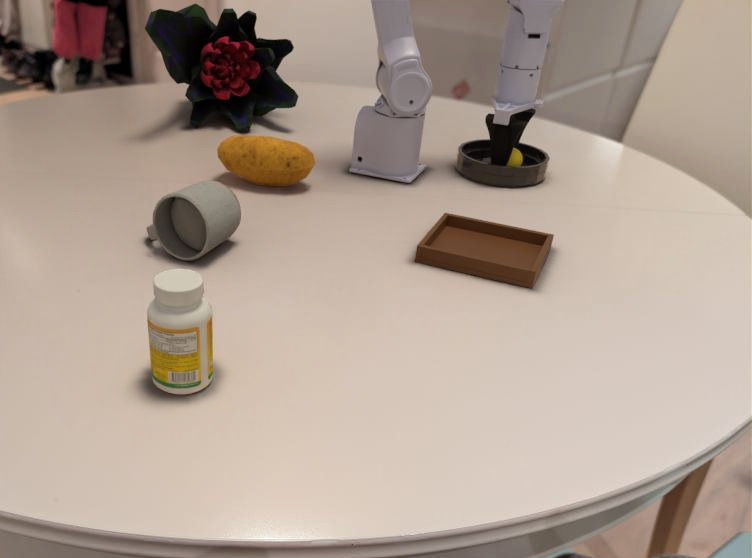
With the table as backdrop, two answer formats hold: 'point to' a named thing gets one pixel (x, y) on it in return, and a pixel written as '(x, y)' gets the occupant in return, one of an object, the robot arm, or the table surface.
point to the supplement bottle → (180, 332)
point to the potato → (266, 159)
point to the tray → (485, 249)
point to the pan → (499, 175)
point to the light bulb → (514, 159)
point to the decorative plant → (222, 63)
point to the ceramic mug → (195, 219)
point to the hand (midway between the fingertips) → (501, 161)
